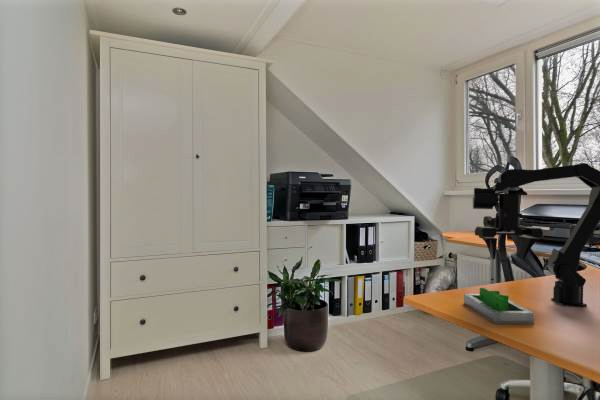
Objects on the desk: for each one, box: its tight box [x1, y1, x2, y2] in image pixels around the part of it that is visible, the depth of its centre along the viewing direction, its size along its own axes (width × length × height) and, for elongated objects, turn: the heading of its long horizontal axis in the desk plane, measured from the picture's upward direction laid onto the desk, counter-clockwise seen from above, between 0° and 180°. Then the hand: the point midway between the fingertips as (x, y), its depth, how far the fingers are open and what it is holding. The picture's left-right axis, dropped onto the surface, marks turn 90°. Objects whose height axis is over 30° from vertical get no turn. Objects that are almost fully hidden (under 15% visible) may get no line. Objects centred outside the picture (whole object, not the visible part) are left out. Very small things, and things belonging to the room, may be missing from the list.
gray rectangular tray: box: [463, 293, 535, 325], centre depth 101 cm, size 10×17×3 cm, turn 0°
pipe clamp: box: [479, 287, 510, 311], centre depth 101 cm, size 11×4×5 cm, turn 0°
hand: (507, 259), depth 116 cm, fingers open, 9 cm apart
